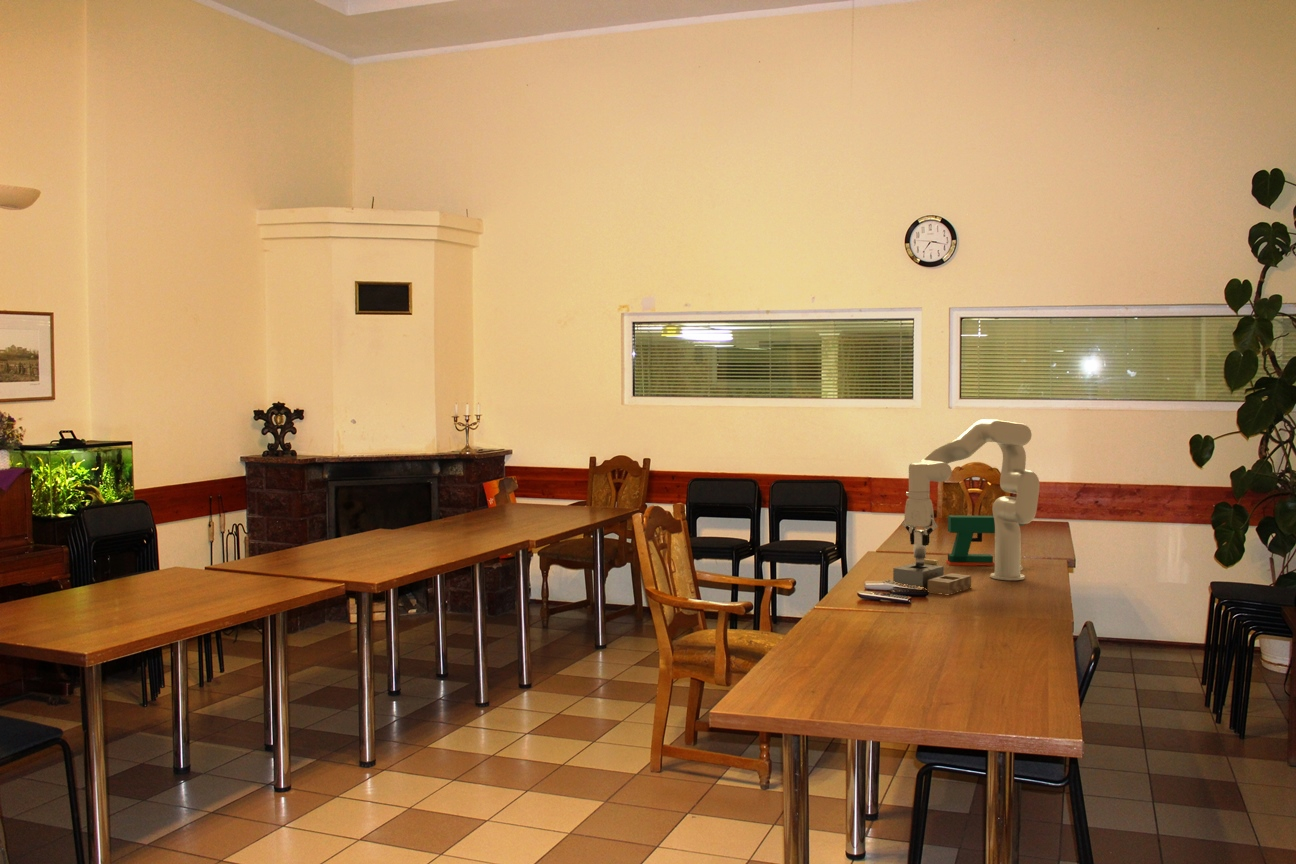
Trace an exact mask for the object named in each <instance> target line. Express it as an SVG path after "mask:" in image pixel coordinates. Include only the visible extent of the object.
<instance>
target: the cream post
mask: <svg viewBox="0 0 1296 864" xmlns="http://www.w3.org/2000/svg"><path fill="white" fill-rule="evenodd" d="M923 535H924V530H923V529H915V530H914V544H913V558H914V559H915V563H916V566H924V559H927V545H926V546H924V545H923Z"/></svg>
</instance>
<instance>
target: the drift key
mask: <svg viewBox="0 0 1296 864" xmlns="http://www.w3.org/2000/svg"><path fill="white" fill-rule="evenodd" d="M924 564H929V565H937V566H939V560H938V559H931V558H924Z"/></svg>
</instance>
